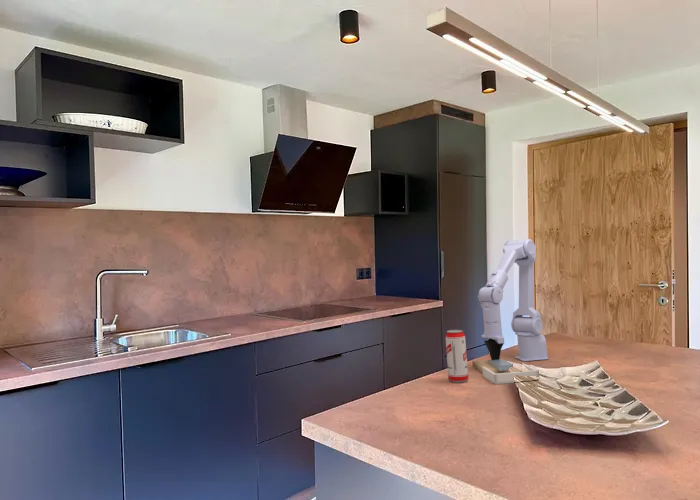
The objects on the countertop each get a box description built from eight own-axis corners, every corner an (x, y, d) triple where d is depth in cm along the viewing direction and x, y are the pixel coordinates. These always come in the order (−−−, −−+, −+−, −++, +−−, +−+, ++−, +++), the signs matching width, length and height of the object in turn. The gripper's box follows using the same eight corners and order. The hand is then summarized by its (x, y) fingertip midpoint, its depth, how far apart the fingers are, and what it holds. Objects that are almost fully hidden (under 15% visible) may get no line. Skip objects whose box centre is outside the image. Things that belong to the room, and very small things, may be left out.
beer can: (467, 378, 159) (463, 328, 160) (470, 382, 153) (466, 331, 154) (447, 379, 160) (444, 330, 160) (449, 383, 154) (445, 333, 154)
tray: (524, 372, 161) (523, 363, 161) (539, 380, 150) (538, 370, 150) (483, 376, 160) (482, 367, 160) (495, 384, 149) (494, 374, 149)
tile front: (508, 366, 162) (507, 361, 163) (513, 369, 158) (513, 364, 158) (494, 367, 162) (494, 362, 162) (499, 370, 158) (499, 365, 158)
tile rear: (503, 363, 167) (502, 359, 167) (508, 366, 162) (507, 361, 163) (490, 365, 167) (489, 360, 167) (494, 367, 162) (494, 362, 162)
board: (505, 364, 175) (505, 358, 175) (521, 372, 161) (521, 366, 161) (472, 367, 174) (472, 361, 174) (486, 376, 160) (485, 369, 160)
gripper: (474, 320, 175) (477, 358, 175) (488, 325, 161) (491, 366, 160) (493, 318, 175) (496, 356, 175) (509, 323, 161) (512, 364, 161)
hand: (495, 361), depth 168 cm, fingers closed
